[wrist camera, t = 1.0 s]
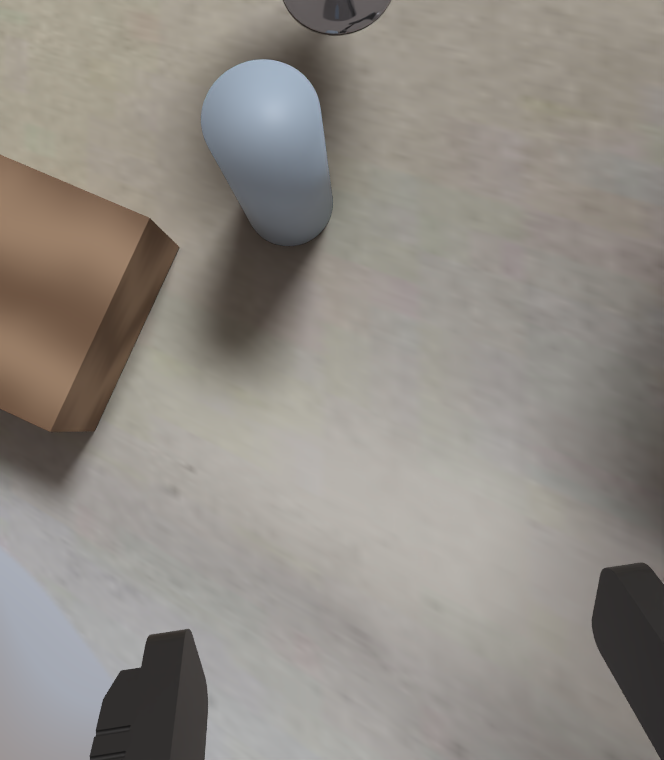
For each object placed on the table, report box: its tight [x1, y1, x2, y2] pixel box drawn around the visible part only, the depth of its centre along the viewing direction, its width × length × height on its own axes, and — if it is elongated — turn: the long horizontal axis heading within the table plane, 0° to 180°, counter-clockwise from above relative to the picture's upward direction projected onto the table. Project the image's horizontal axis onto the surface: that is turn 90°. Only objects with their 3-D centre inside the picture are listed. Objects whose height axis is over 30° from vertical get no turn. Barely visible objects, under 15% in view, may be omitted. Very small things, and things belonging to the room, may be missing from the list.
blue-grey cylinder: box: [201, 59, 333, 246], centre depth 31 cm, size 5×5×10 cm
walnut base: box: [0, 155, 179, 432], centre depth 34 cm, size 12×12×5 cm
